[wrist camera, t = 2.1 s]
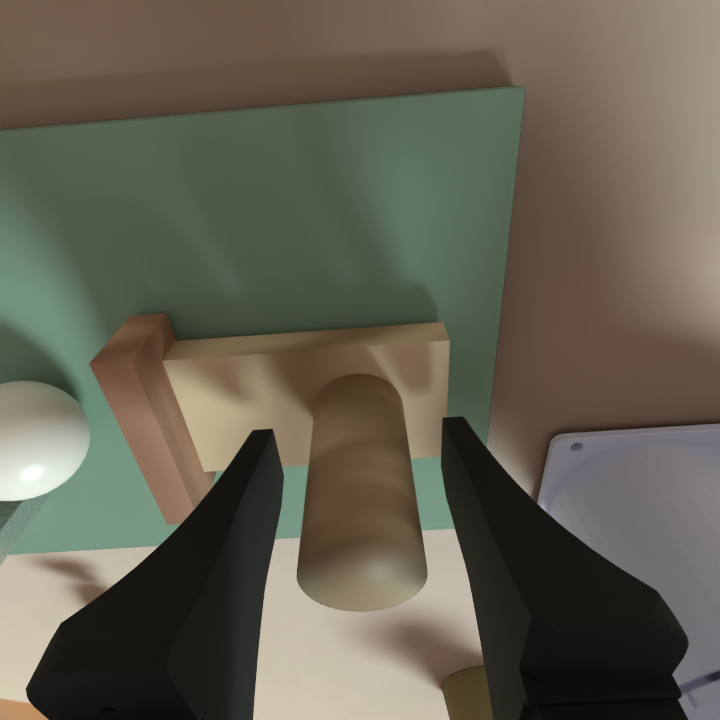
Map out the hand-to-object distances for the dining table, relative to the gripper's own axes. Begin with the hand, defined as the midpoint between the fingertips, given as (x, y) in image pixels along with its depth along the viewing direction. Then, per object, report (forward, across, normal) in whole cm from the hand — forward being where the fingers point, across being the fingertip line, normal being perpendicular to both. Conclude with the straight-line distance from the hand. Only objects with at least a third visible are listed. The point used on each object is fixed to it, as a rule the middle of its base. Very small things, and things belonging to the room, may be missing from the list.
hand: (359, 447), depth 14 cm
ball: (+1, +12, 0) cm, 12 cm away
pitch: (+4, +7, 0) cm, 8 cm away
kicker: (+3, +2, 0) cm, 4 cm away
